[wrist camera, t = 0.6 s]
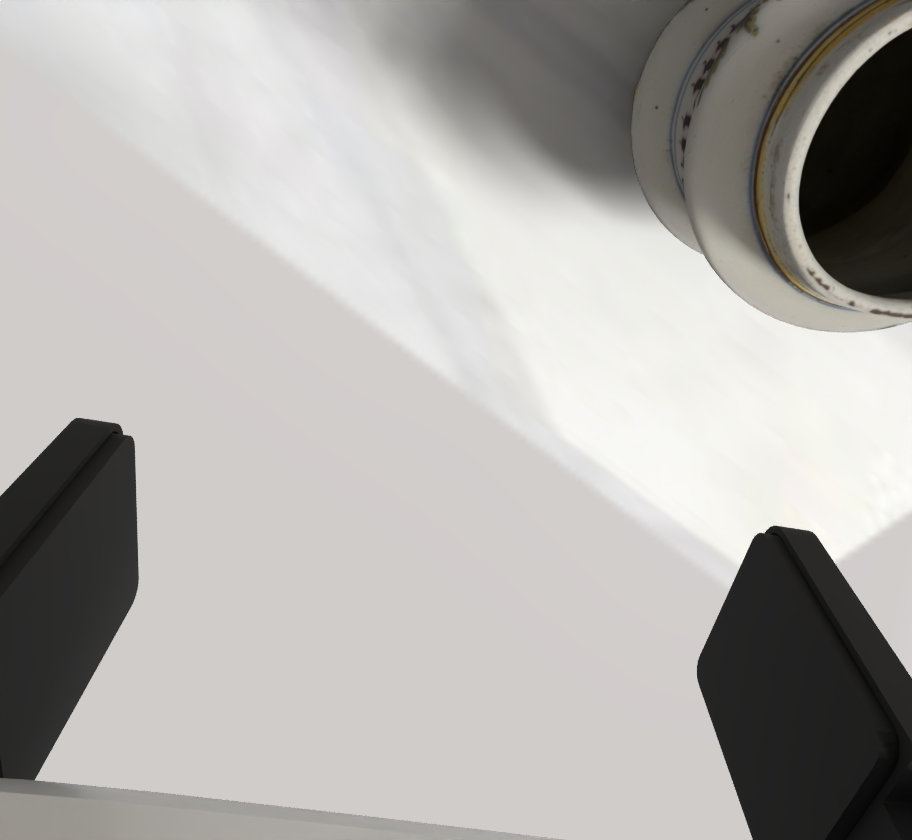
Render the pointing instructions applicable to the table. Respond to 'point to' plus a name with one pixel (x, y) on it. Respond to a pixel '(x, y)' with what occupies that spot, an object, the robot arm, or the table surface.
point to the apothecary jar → (787, 153)
